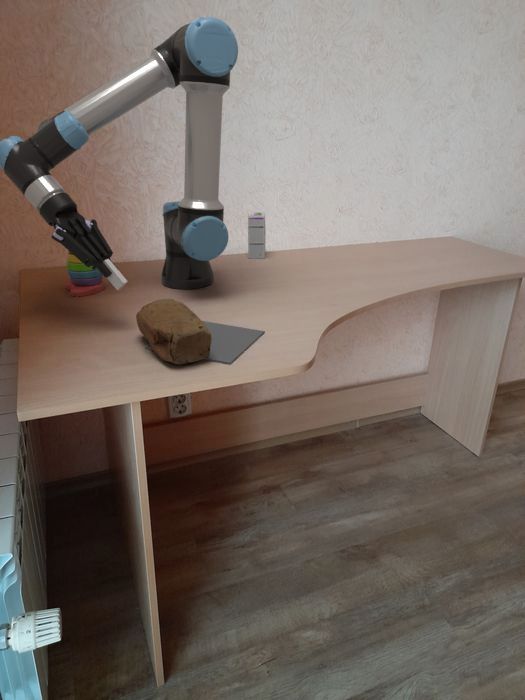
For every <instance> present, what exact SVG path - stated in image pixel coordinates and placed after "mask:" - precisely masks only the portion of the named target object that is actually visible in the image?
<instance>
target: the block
mask: <svg viewBox="0 0 525 700" xmlns="http://www.w3.org/2000/svg"><path fill="white" fill-rule="evenodd" d="M135 316H136V317H135V318H136V323H137V327H138V330H139V331H140V333H141V334H142V336H143V337H144V338H145V339H146V340H147V341H148V344H149V343H150V345H151V347H152V348H153V349H154V350H153V349H152V350H153V351H154V352H155V354H157V355H158V357H159V358H160V359H161V360H163V361H165V362H169V363H171V364H176V365H184V364H188V363H193V362H198V361H201V360H204V359H205V358H207V357H209V355H210V346H211V342H212V337H211V332H210V331H209V329H208V328H207V327H206V325H205V324H204V323H203V322H202V321H203V320H202V319H201V318H199V316H198V315H197V314H196V313H195V312H194V311H193V310H191V308H190V307H188V306H187V305H186V304H185V303H183V302H182V301H179V300H175V299H173V298H163V299H157V300H154V301H152V302H151V303H148V304H146V305H143V306H142V307H141V308H140V310H138V311H137V313H136V315H135Z"/></svg>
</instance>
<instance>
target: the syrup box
mask: <svg viewBox="0 0 525 700" xmlns="http://www.w3.org/2000/svg"><path fill="white" fill-rule="evenodd" d="M247 238H248V239H247V241H248V243H247V244H248V247H247V248H248V249H247V251H248V259H253V260H254V259H255V260H256V259H257V260H258V259H259V260H260V259H261V260H262V259H265V258H266V213H265V212H249V213H248V215H247Z"/></svg>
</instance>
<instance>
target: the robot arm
mask: <svg viewBox="0 0 525 700" xmlns="http://www.w3.org/2000/svg"><path fill="white" fill-rule="evenodd" d="M238 45H239V44H238V41H237V38H236V35H235V33H234V32H233V30H232V29H231V28H230V26H229V25H228V23H226V22H225V21H223V20H222V19H220V18H216V17H213V16H206V17H202V16H201V17H199V18H195V19H194V20H193V21H191V22H190V23H187V24H184V25H183V26H181V27H180V28H178V29H177V30H176V31H175V32H173V33H172V34H171V35H170V36H169V37H168V38H167V39H166V40H164V41H163V42H162V43H160V44H159V45H157V46H156V47H154V48H153V49H152V50H150V56H149V57H147V58H145V59H144V60H142V61H141V62H139V63H138V64H135V65H134V66H133V67H131V68H129V69H128V70H126V71H124V72H122V74H119V75H118V76H117V77H115V78H113V79H111V80H110V81H108V82H107V83H105V84H103V85H101V86H100V87H99V88H97V89H95V90H94V91H92V92H90V93H89V94H88V95H87V94H86V95H85V96H84V97H83V98H81V99H79V100H78V101H76V102H75V103H73V104H71V105H70V106H68V107H66V108H65V109H63V110H62V111H61V112H58V113H57V114H55V115H53V116H52V117H50V118H47V119H45V120H43V121H42V122H41V123H40V124H39V126H37V130H36V132H35V133H34V134H33V135H31V136H30V137H28V138H27V139H25V140H24V139H22V137H20V136H16V135H11V136H9V137H8V138H4V139H2V140H0V168H1V170H2V172H3V173H4V174H5V175H6V177H8V179H9V180H10V181H11V182H12V183H13V185H15V187H16V188H17V189H18V190H19V191H20V193H22V195H23V196H24V197H25V198H26V199H27V200H28V201H29V203H30V204H31V205H32V206H33V207H34V209H35V210H36V211H37V212H39V215H40V216H41V218H43V220H44V221H45V222H46V223H47V225H49V226H50V227H53V228H54V232H53V234H52V235H51V236H50V237H51V238H52V239H53V240H54V241H56V242H58V243H59V244H61V246H63V247H64V248H65V249H66V250H67V251H68V250H69V251H70V252H71V253H72V254H73V255H74V256H75V257H77V258H78V259H79V260H80V261H81V262H82V263H83V264H84V265H86V266H87V267H90V266H93V267H92V269H94V270H95V269H96V268H98V270H99V271H100V272H101V273H102V274H103V277H104V278H105V279H107V280H108V282H110V284H111V285H112V286H113V287H114V288H115V290H116V291H120V290H121V289H123V288H124V287H125V285H126V284H128V280H127V279H126V277H125V276H124V274H122V273H121V271H120V270H119V268H118V266H117V265H116V264H115V263H114V262H113V260H111V258H112V256H113V254H114V251H113V250H112V249H111V246H110V245H109V243H108V242H107V240H106V238H105V237H104V235H103V234H102V232H101V230H100V229H99V225H98V222H97V221H96V220H95V219H93V218H92V219H91V220H87V219H85V217H84V216H83V215H82V214H80V213H79V211H78V205H77V203H76V202H75V201H74V199H73V198H72V197H71V196H70V195H69V194H68V193H67V192H66V189H64V188H63V186H62V185H61V184H60V183H59V182H58V180H57V179H56V178H55V176H53V175H52V173H51V172H50V171H52V170H53V169H54V168H55V167H56V166H58V165H59V164H61V163H62V162H64V161H65V160H66V159H68V157H70V156H71V155H73V154H74V153H76V152H77V151H79V150H81V148H82V147H83V146H85V145H86V144H87V142H89V139H90V136H91V135H93V134H95V133H96V132H97V131H99V130H101V129H103V128H104V127H105V126H107V125H109V124H110V123H112V122H113V121H116V119H118V118H121V117H122V116H123V115H125V114H126V113H129V112H130V111H132V110H133V109H135V108H137V106H140V105H141V104H142V103H144V102H146V101H148V100H149V99H151V98H153V97H155V95H157V94H159V93H160V92H163V90H165V89H166V88H168V89H173V90H174V89H175V88H176V87H178V86H181V87H182V88H183V90H184V91H185V128H184V130H185V132H184V133H185V134H184V135H185V136H184V137H185V140H184V189H183V193H184V194H183V198H182V199H181V200H180V201H179V200H178V201H169V202H165V203H164V204H163V207H162V209H163V210H162V217H163V229H164V242H165V244H164V245H165V259H164V263H163V268H162V272H161V275H160V276H161V284H162V285H164V286H165V287H166V288H170V289H171V288H172V289H176V290H177V289H178V290H193V289H200V288H205V287H208V286H210V285H212V284H213V283H214V281H215V279H214V278H215V277H214V271H213V269H212V266H211V263H210V261H211V260H214V259H216V258H218V257H219V256H220V255H221V254H223V252H224V251H225V250H226V248H227V246H228V242H229V230H228V228H227V225H226V224H225V223H224V216H225V215H224V214H225V206H224V205H223V204H222V202H221V201H220V199H219V190H220V188H219V187H220V169H221V168H220V167H221V164H220V163H221V146H222V145H221V144H222V121H223V119H222V117H223V96H224V94H225V93H226V92H227V91H228V90H229V89H230V85H231V84H230V83H231V71H232V70H233V69H234V67H235V65H236V63H237V60H238V55H239V46H238ZM87 259H88V260H87Z"/></svg>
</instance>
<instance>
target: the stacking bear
mask: <svg viewBox="0 0 525 700" xmlns="http://www.w3.org/2000/svg"><path fill="white" fill-rule="evenodd" d="M67 252H68V253H67V258H66V260H67V261H66V268H67V274H68V276H69V278H70V281H67V282H66V283H65V285H64V287H65V289H66V290H68V291H69V295H70V296H71V297H74V296H75V297H79V296H80V297H85V296H91V295H94V294H98V293H100V292H102V291H104V289H105V284H104V282H103V277H104V276H103V274H102V273H101V272H100V271H99V270H98V268H96V269H95V270H94V269H92V267H93V266H90V267H87V266H86V265H84V264H83V263H82V262H81V261H80V260H79V259H78V258H77V257H75V256H74V255H73V254H72V253H71V252H70V251H69V250H68V249H67ZM87 260H88V259H87Z"/></svg>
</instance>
